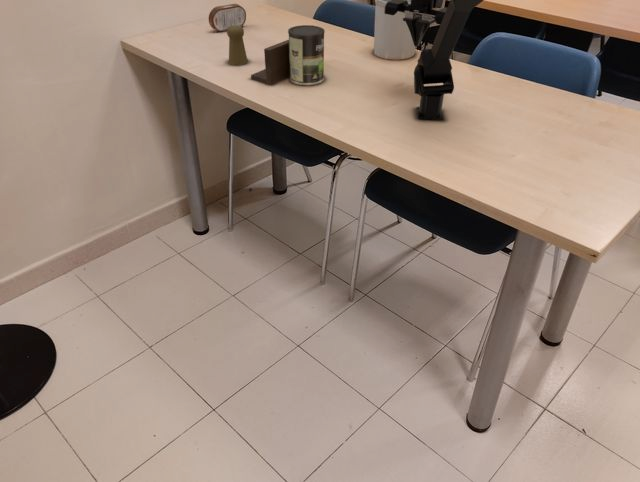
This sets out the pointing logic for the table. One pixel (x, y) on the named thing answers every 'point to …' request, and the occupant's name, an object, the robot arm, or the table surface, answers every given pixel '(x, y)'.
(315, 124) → the table surface
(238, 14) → the tin
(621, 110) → the table surface
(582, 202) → the table surface
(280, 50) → the walnut bookend
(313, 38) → the coffee can
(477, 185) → the table surface
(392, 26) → the utensil holder
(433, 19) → the robot arm
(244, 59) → the olive green pawn
